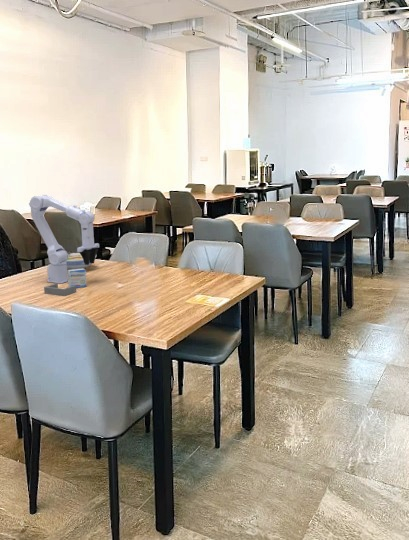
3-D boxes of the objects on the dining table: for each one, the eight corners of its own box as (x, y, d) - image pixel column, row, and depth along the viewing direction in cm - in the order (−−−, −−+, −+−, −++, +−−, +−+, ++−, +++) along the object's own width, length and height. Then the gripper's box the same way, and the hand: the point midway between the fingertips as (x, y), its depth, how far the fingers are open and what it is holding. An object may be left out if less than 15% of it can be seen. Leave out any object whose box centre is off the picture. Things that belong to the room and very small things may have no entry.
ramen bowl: (92, 273, 283) (91, 258, 281) (49, 274, 283) (48, 259, 282) (101, 264, 307) (100, 250, 306) (62, 265, 308) (61, 251, 306)
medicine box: (70, 289, 250) (69, 271, 249) (68, 287, 254) (67, 269, 253) (86, 286, 254) (85, 269, 252) (84, 285, 258) (83, 267, 256)
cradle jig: (44, 293, 243) (44, 287, 242) (56, 289, 250) (56, 283, 249) (64, 296, 238) (64, 289, 237) (76, 291, 245) (76, 285, 244)
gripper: (84, 239, 250) (86, 267, 253) (103, 235, 263) (105, 261, 265) (73, 238, 253) (75, 266, 256) (92, 234, 266) (93, 260, 269)
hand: (89, 264), depth 261 cm, fingers open, 3 cm apart
